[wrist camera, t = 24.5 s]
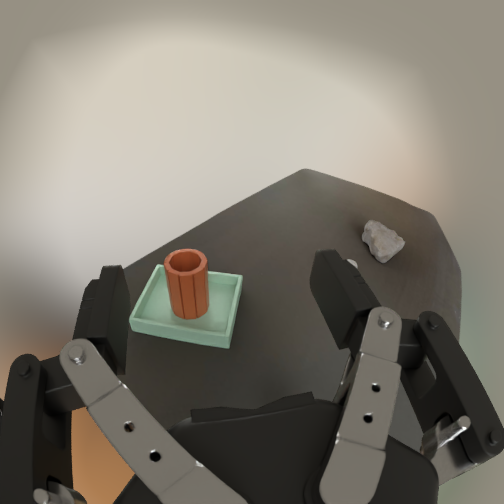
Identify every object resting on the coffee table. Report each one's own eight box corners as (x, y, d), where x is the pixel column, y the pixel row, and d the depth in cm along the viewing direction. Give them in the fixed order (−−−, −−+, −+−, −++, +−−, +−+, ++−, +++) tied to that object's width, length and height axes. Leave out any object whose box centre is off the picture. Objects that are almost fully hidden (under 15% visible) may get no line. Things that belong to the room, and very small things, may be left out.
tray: (132, 331, 43) (128, 319, 41) (159, 275, 53) (157, 264, 52) (229, 348, 42) (229, 337, 40) (241, 287, 53) (242, 275, 51)
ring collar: (166, 316, 45) (158, 272, 40) (178, 289, 50) (172, 246, 45) (203, 322, 45) (200, 278, 39) (212, 294, 50) (211, 250, 44)
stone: (350, 244, 66) (356, 221, 62) (371, 235, 69) (377, 214, 66) (382, 268, 59) (390, 246, 56) (401, 257, 63) (410, 236, 59)
